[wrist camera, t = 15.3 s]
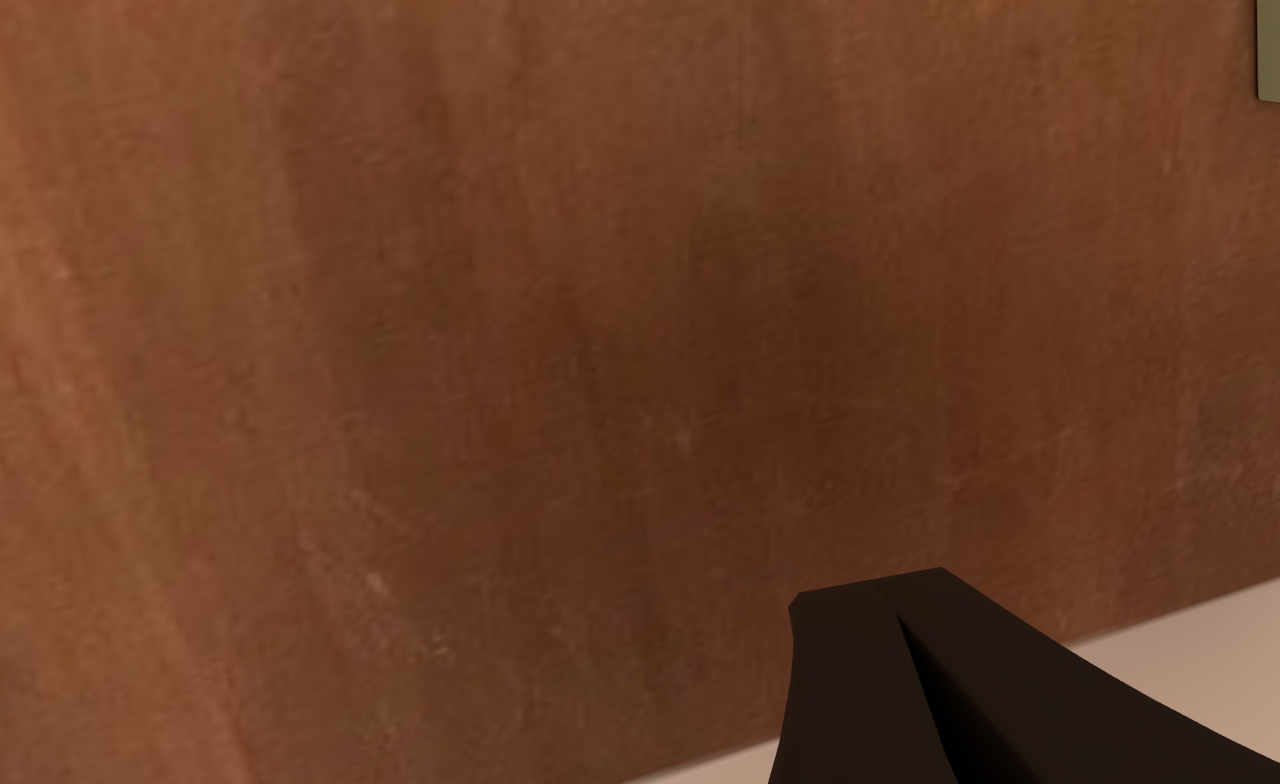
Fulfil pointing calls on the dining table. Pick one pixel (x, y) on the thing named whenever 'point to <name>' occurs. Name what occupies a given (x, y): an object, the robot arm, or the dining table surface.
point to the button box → (1268, 49)
